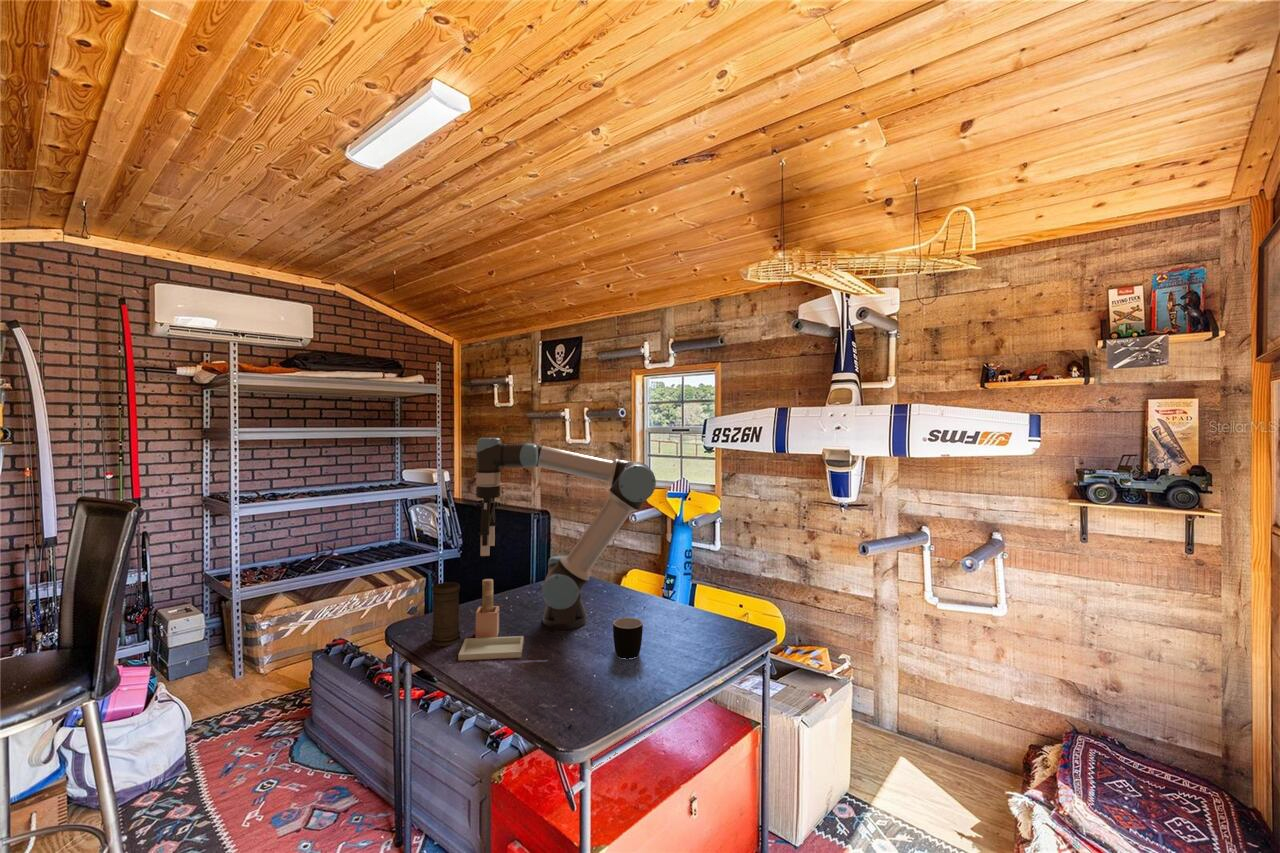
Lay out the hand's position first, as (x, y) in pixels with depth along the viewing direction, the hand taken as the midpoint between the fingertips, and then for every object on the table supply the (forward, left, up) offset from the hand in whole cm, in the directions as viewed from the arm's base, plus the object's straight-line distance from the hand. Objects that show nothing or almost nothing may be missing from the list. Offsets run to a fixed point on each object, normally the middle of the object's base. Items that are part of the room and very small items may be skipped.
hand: (487, 550), depth 180 cm
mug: (-43, +18, -29) cm, 55 cm away
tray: (-3, +12, -28) cm, 31 cm away
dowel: (0, 0, -28) cm, 28 cm away
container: (+12, +2, -29) cm, 31 cm away
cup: (0, 0, -28) cm, 28 cm away
